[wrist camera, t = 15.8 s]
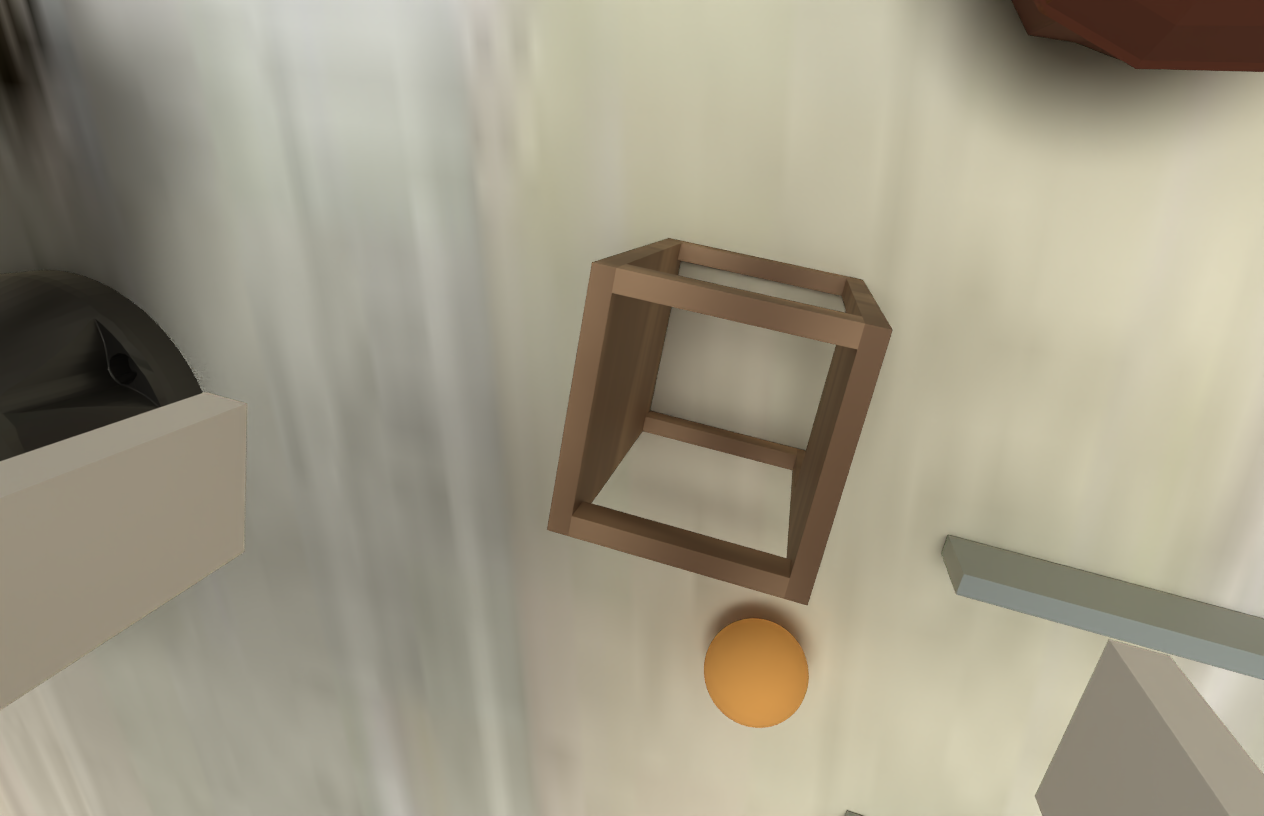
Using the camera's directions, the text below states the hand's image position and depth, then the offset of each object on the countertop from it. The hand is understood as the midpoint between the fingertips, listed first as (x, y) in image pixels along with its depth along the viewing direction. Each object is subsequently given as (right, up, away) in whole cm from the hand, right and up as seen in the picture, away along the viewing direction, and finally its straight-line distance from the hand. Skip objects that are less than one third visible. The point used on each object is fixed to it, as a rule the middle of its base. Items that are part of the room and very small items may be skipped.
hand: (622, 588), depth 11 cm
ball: (+5, -8, +17) cm, 20 cm away
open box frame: (+4, +5, +16) cm, 17 cm away
